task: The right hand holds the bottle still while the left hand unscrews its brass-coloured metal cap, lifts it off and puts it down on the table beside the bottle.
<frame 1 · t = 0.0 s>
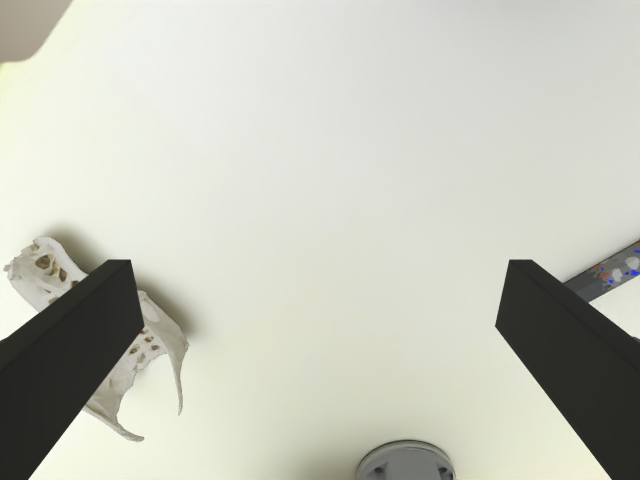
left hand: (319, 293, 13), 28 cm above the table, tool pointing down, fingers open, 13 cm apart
anatomical model: (119, 312, 46), on the table
pillar: (586, 277, 44), on the table
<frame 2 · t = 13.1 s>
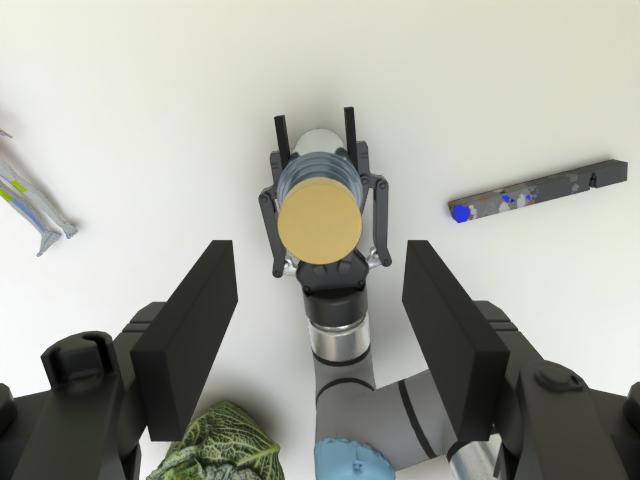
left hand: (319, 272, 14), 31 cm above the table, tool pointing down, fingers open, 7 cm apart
right hand: (313, 112, 35), fingers closed on bottle, 6 cm apart
cap: (319, 224, 20), point 25 cm above the table, screwed on, not yet turned
bottle: (319, 154, 43), on the table, touching right hand
vegetable: (232, 429, 60), on the table
pillar: (528, 189, 45), on the table
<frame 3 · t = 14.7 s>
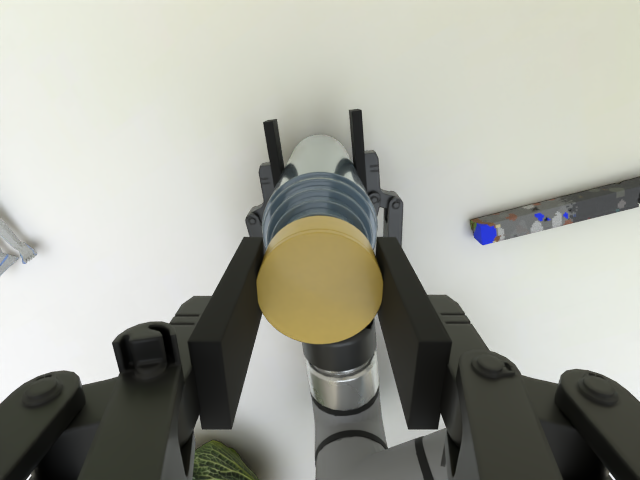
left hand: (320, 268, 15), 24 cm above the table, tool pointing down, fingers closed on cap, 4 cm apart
cap: (319, 287, 13), point 25 cm above the table, screwed on, not yet turned, touching left hand
bottle: (319, 165, 37), on the table, touching right hand
vegetable: (221, 469, 53), on the table
pillar: (563, 205, 38), on the table
when the left hand's fingers open (1 cm above the table, at t = 31.0 s): cap drops 1 cm, point 2 cm above the table.
when the right hand's fingers open (7 cm above the table, at t = 32.2 s): bottle stays where it is, on the table.
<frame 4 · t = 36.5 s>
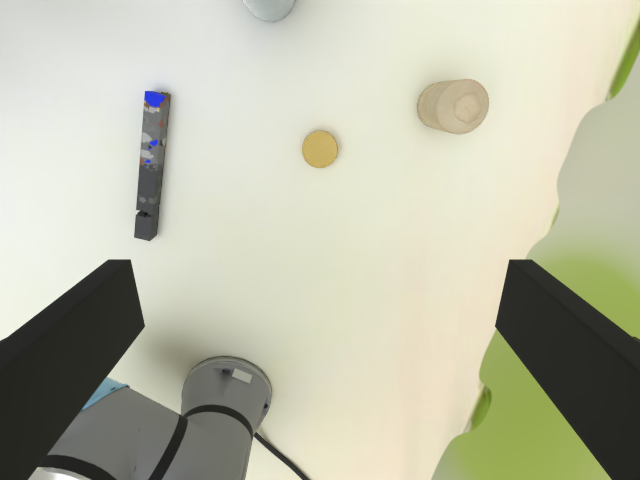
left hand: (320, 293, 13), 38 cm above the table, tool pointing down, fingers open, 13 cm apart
candle: (437, 105, 46), on the table
cap: (319, 149, 47), point 2 cm above the table, off its thread
pillar: (155, 167, 49), on the table
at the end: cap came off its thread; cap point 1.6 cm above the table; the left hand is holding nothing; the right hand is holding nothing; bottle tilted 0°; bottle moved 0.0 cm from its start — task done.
